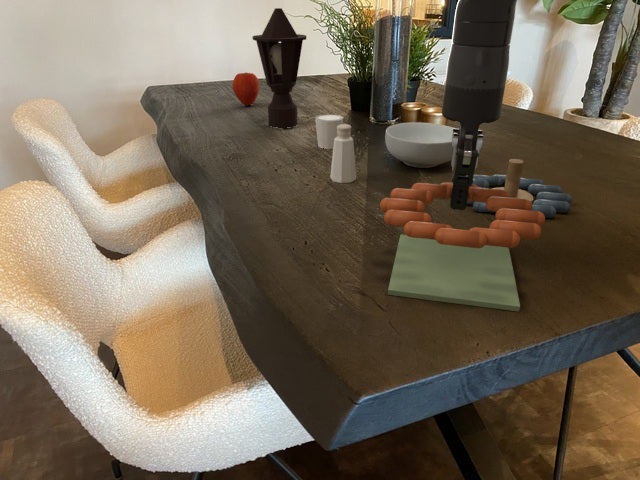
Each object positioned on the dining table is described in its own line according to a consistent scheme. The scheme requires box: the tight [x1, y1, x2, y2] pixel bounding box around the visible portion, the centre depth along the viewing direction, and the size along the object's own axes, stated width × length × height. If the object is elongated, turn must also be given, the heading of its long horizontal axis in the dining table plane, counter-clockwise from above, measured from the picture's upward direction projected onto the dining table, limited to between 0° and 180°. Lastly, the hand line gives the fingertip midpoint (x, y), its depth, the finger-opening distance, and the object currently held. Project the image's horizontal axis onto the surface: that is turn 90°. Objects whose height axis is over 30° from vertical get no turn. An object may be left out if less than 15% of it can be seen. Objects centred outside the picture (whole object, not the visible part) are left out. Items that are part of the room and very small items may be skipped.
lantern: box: [251, 7, 307, 128], centre depth 131 cm, size 15×15×30 cm
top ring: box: [379, 182, 546, 249], centre depth 64 cm, size 21×17×2 cm
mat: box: [387, 234, 521, 313], centre depth 68 cm, size 16×16×1 cm
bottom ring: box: [467, 174, 573, 219], centre depth 89 cm, size 21×17×2 cm
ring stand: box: [492, 158, 534, 204], centre depth 88 cm, size 8×8×8 cm
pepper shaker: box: [329, 123, 357, 184], centre depth 98 cm, size 5×5×11 cm
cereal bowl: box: [384, 121, 457, 169], centre depth 107 cm, size 17×17×7 cm
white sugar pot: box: [314, 114, 344, 150], centre depth 119 cm, size 7×7×7 cm
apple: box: [232, 71, 260, 106], centre depth 158 cm, size 9×8×11 cm
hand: (457, 203), depth 71 cm, fingers closed on top ring, 2 cm apart
